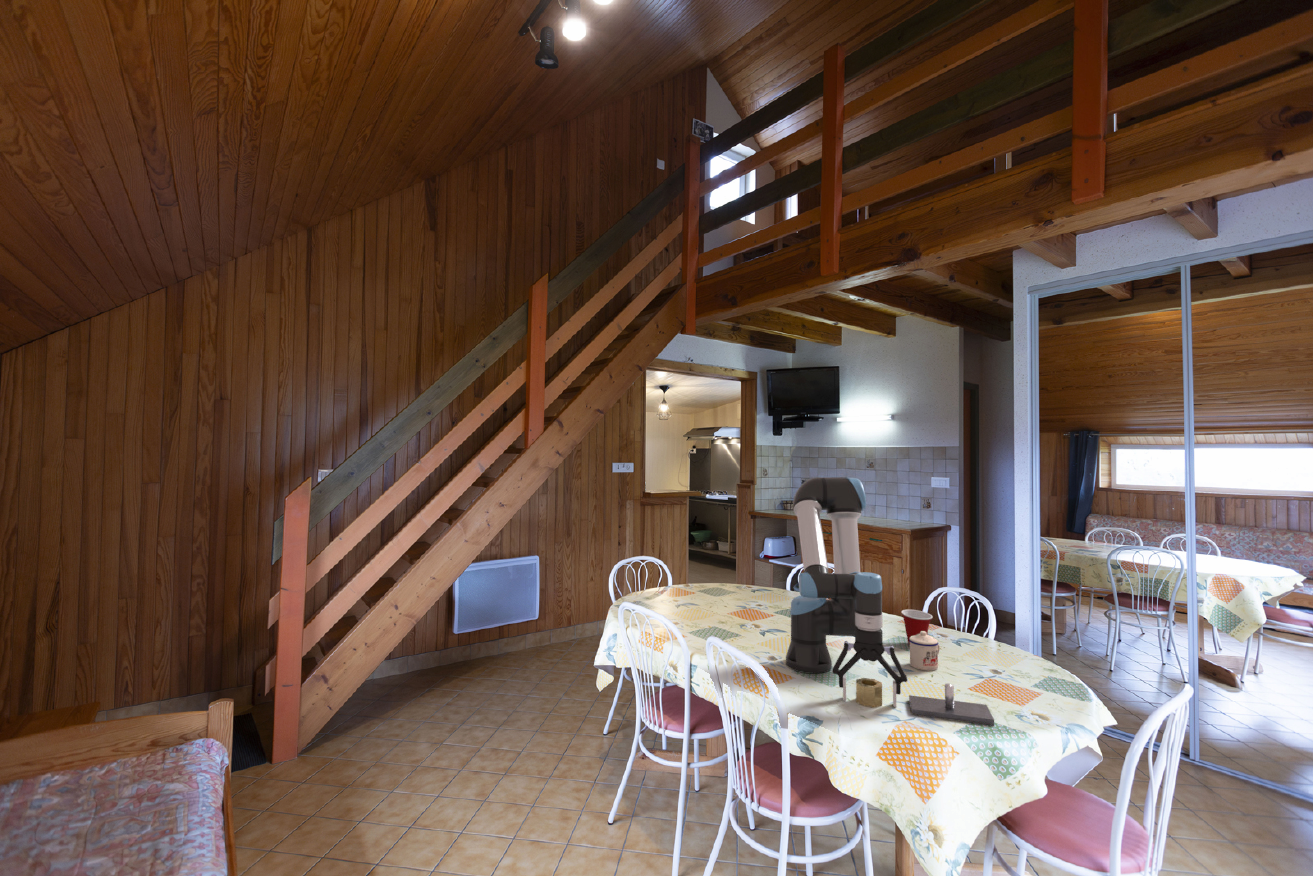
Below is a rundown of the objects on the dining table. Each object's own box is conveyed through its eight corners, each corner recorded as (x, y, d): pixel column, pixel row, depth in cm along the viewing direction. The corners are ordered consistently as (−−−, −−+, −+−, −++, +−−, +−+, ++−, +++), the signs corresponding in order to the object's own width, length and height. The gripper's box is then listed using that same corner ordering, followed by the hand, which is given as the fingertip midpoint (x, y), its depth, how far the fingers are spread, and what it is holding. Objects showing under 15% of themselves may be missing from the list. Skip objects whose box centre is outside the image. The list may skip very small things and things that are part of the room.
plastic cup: (924, 651, 214) (924, 618, 215) (896, 644, 223) (895, 612, 223) (938, 645, 221) (937, 613, 222) (910, 639, 230) (910, 607, 230)
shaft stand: (911, 714, 162) (911, 687, 162) (909, 700, 171) (908, 674, 172) (994, 725, 155) (993, 696, 156) (986, 710, 165) (986, 683, 165)
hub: (856, 705, 168) (856, 685, 168) (856, 695, 175) (856, 677, 175) (882, 708, 166) (882, 688, 166) (881, 699, 172) (881, 680, 173)
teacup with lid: (926, 673, 193) (925, 637, 194) (903, 664, 201) (902, 630, 202) (950, 667, 199) (950, 632, 199) (927, 659, 207) (926, 625, 207)
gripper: (823, 627, 171) (823, 701, 170) (916, 635, 163) (917, 713, 162) (824, 620, 178) (825, 691, 178) (914, 628, 170) (915, 702, 169)
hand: (869, 702), depth 170 cm, fingers open, 13 cm apart
